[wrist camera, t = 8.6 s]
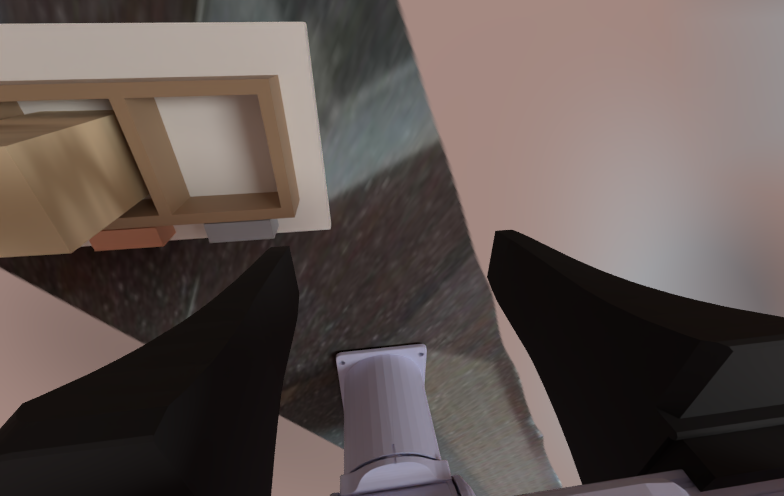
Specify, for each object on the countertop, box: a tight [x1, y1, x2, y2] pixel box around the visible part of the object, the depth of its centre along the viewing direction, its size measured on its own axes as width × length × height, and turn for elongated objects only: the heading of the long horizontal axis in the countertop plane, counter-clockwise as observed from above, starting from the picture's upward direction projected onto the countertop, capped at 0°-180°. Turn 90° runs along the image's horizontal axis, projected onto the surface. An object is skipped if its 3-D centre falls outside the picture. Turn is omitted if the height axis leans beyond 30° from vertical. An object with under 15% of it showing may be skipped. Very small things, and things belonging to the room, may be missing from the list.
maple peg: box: [0, 110, 150, 258], centre depth 14 cm, size 4×4×7 cm
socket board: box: [0, 22, 331, 251], centre depth 17 cm, size 11×16×3 cm
